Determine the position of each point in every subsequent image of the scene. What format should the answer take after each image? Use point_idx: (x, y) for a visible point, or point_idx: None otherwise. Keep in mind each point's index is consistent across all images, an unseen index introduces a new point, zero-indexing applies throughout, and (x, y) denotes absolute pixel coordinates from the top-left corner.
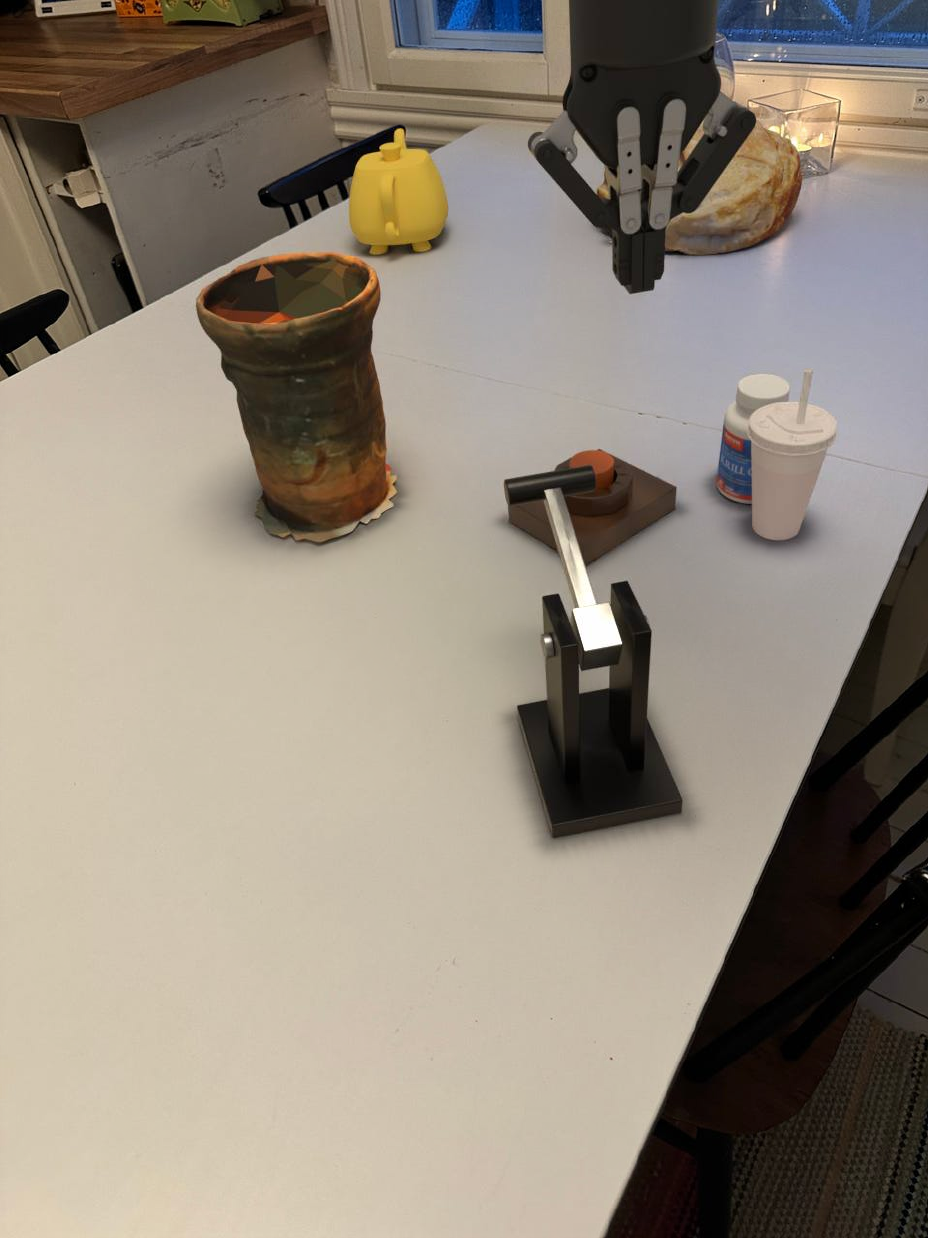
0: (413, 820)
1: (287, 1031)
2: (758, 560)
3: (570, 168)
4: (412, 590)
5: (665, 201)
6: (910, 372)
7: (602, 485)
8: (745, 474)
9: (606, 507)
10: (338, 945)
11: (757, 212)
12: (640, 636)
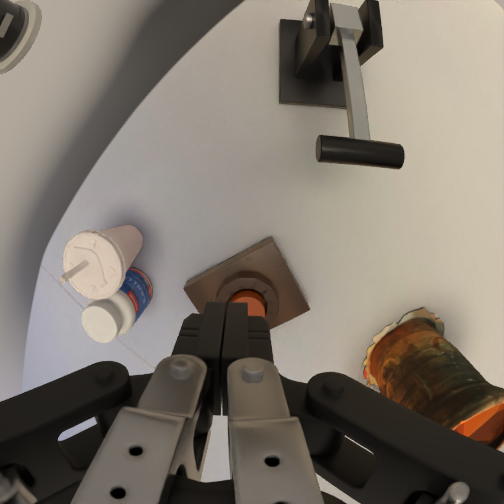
0: (412, 68)
1: (453, 11)
2: (150, 208)
3: (450, 466)
4: (387, 247)
5: (160, 392)
6: (28, 357)
7: (243, 292)
8: (133, 279)
9: (244, 274)
10: (440, 29)
11: None
12: None
